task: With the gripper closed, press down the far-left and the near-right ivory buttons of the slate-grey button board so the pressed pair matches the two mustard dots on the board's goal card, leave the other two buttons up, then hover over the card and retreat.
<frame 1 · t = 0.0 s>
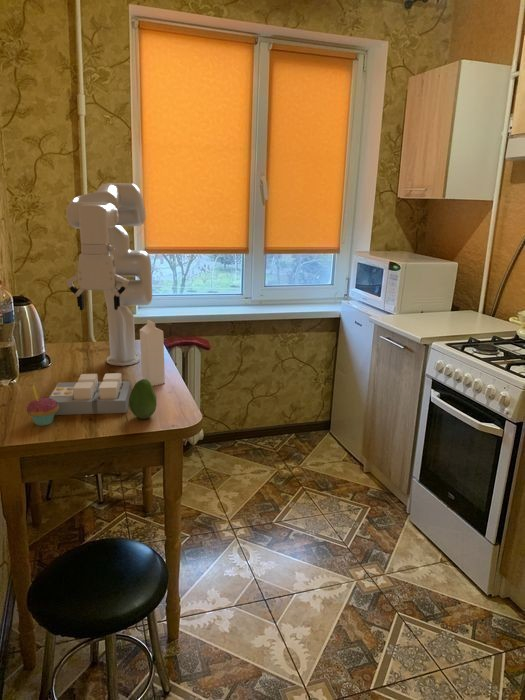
hand: (99, 309, 154), 31 cm above the table, tool pointing down, fingers open, 9 cm apart
cupcake: (44, 422, 153), on the table
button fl: (109, 392, 163), point 5 cm above the table, slide at 0.0 cm
milk: (153, 383, 185), on the table
board: (91, 403, 167), on the table
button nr: (88, 383, 169), point 5 cm above the table, slide at 0.0 cm
avocado: (143, 418, 158), on the table
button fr: (83, 392, 162), point 5 cm above the table, slide at 0.0 cm
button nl: (112, 383, 170), point 5 cm above the table, slide at 0.0 cm
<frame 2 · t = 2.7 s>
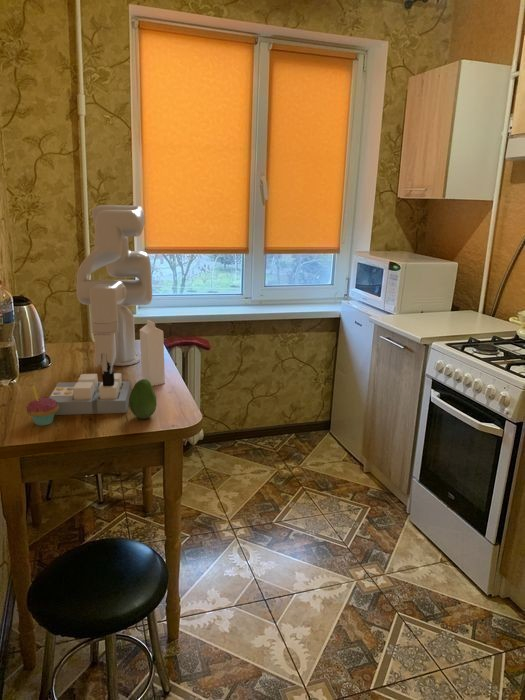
hand: (108, 384, 162), 7 cm above the table, tool pointing down, fingers closed
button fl: (109, 392, 163), point 5 cm above the table, slide at 0.0 cm, touching gripper
everything else where it was.
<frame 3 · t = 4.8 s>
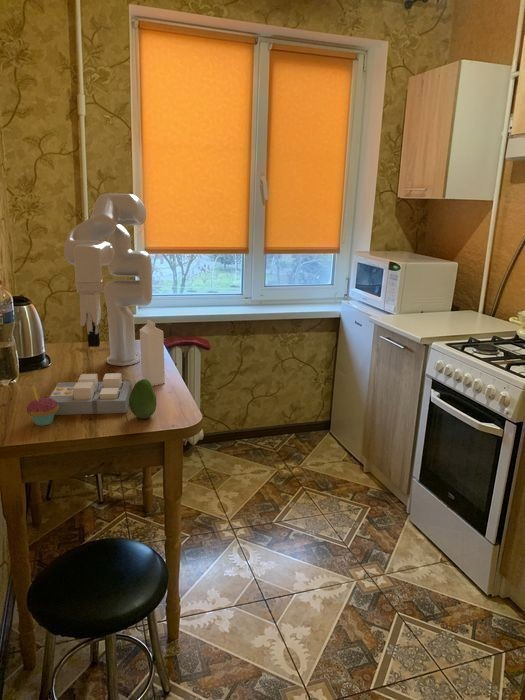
hand: (94, 345, 162), 19 cm above the table, tool pointing down, fingers closed
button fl: (109, 398, 163), point 3 cm above the table, slide at 2.0 cm
everything else where it was.
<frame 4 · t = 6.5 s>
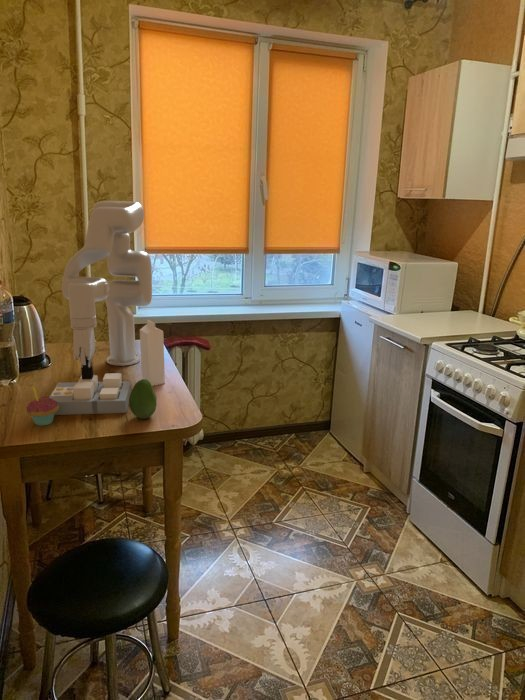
hand: (87, 378, 168), 7 cm above the table, tool pointing down, fingers closed
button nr: (88, 385, 169), point 5 cm above the table, slide at 0.5 cm, touching gripper
everything else where it was.
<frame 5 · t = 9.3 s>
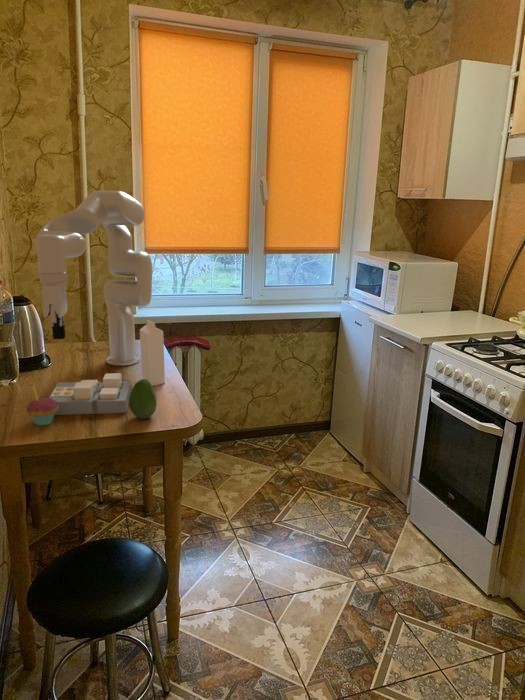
hand: (59, 338, 160), 21 cm above the table, tool pointing down, fingers closed
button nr: (88, 389, 169), point 3 cm above the table, slide at 2.1 cm
everything else where it was.
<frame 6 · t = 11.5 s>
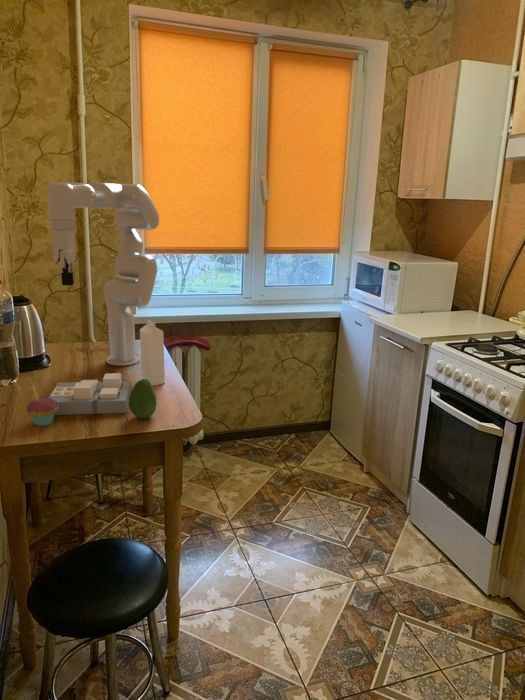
hand: (68, 284, 168), 35 cm above the table, tool pointing down, fingers closed
nothing on the table moved.
at the end: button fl slide at 2.0 cm; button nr slide at 2.1 cm; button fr slide at 0.0 cm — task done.
